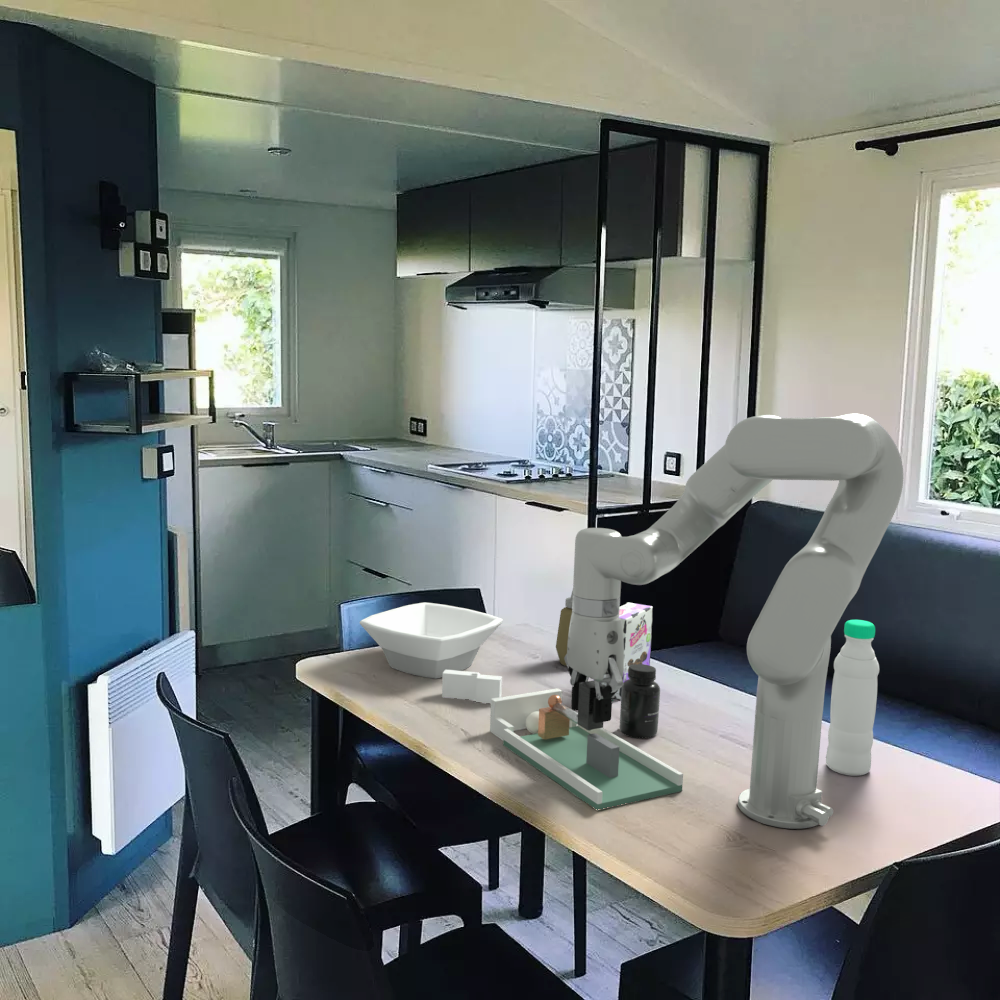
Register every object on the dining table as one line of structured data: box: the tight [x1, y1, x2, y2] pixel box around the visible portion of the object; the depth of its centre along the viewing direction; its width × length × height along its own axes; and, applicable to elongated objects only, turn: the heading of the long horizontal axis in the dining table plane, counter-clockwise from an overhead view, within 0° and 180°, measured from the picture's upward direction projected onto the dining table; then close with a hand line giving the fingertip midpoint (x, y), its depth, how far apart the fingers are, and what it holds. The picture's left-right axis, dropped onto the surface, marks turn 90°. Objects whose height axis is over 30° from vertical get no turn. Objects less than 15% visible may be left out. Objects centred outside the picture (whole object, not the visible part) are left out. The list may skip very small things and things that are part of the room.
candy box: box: [602, 602, 654, 700], centre depth 206 cm, size 14×6×16 cm, turn 148°
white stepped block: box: [441, 670, 503, 704], centre depth 197 cm, size 15×11×6 cm
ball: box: [526, 711, 539, 734], centre depth 180 cm, size 4×4×4 cm
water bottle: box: [825, 619, 880, 777], centre depth 168 cm, size 7×7×25 cm
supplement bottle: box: [619, 664, 661, 740], centre depth 182 cm, size 7×7×12 cm
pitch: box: [489, 687, 684, 811], centre depth 169 cm, size 34×16×6 cm, turn 30°
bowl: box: [359, 602, 504, 680], centre depth 217 cm, size 24×25×10 cm
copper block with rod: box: [538, 679, 605, 740], centre depth 170 cm, size 13×5×12 cm, turn 30°
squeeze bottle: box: [555, 589, 573, 667], centre depth 221 cm, size 8×8×18 cm
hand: (590, 714), depth 166 cm, fingers open, 5 cm apart
